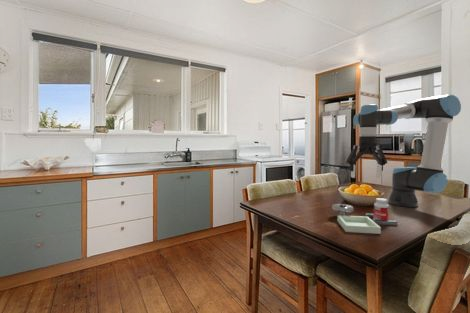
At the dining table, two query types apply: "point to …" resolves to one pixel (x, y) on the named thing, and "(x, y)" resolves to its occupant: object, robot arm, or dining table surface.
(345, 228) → the tray
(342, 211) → the pulley
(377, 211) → the pill bottle
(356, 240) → the dining table surface
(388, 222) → the tensioner bracket
